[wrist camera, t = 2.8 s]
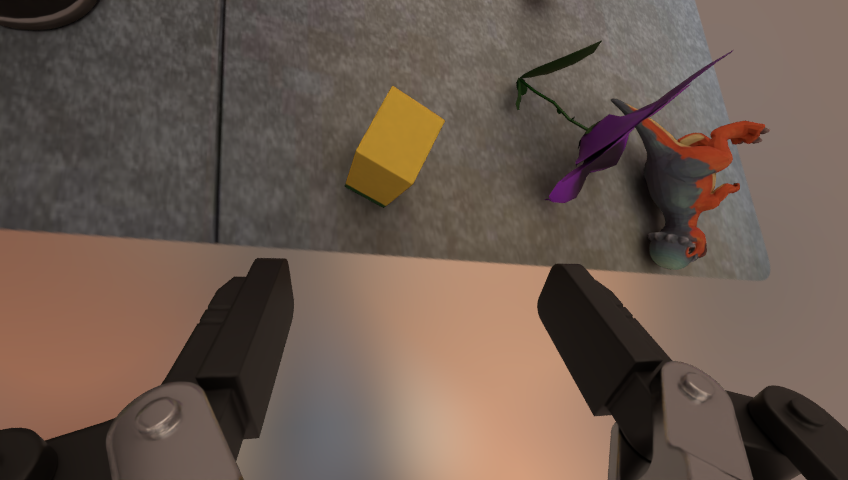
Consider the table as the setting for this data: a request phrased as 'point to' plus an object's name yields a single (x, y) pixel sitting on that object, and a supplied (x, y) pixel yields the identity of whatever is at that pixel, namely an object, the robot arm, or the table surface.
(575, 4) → the table surface
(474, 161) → the table surface
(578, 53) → the flower
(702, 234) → the toy
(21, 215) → the table surface
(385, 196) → the sponge
